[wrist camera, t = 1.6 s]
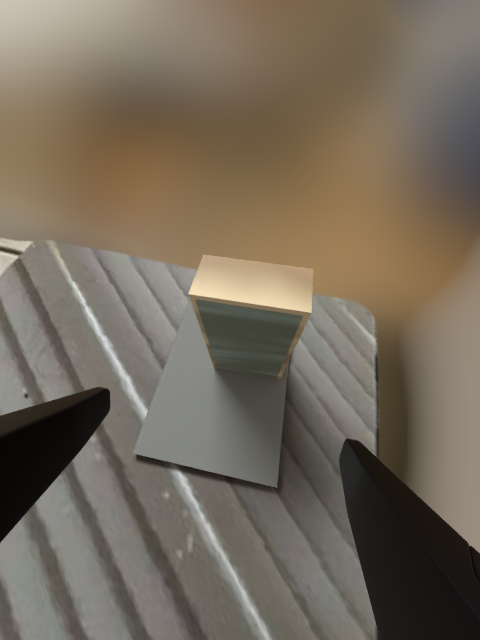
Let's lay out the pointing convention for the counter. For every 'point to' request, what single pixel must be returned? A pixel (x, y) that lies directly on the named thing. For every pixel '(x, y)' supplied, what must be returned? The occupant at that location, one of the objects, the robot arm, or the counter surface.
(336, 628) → the counter surface
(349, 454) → the robot arm
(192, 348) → the mat
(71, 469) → the counter surface
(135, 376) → the counter surface
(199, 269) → the tile
